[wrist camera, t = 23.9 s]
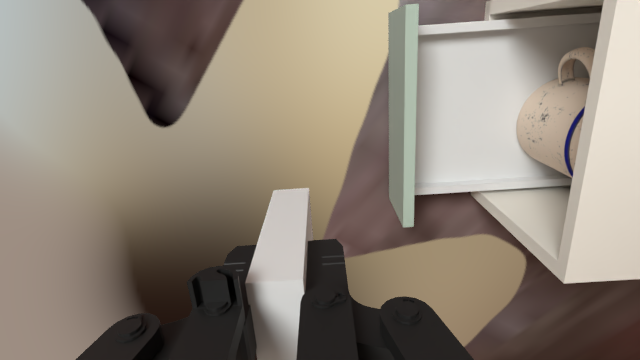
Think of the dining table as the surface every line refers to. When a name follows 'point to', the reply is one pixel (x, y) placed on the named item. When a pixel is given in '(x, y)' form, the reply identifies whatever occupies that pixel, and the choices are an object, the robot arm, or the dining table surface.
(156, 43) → the dining table surface
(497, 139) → the tray
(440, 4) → the dining table surface
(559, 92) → the teacup with lid
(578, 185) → the housing
